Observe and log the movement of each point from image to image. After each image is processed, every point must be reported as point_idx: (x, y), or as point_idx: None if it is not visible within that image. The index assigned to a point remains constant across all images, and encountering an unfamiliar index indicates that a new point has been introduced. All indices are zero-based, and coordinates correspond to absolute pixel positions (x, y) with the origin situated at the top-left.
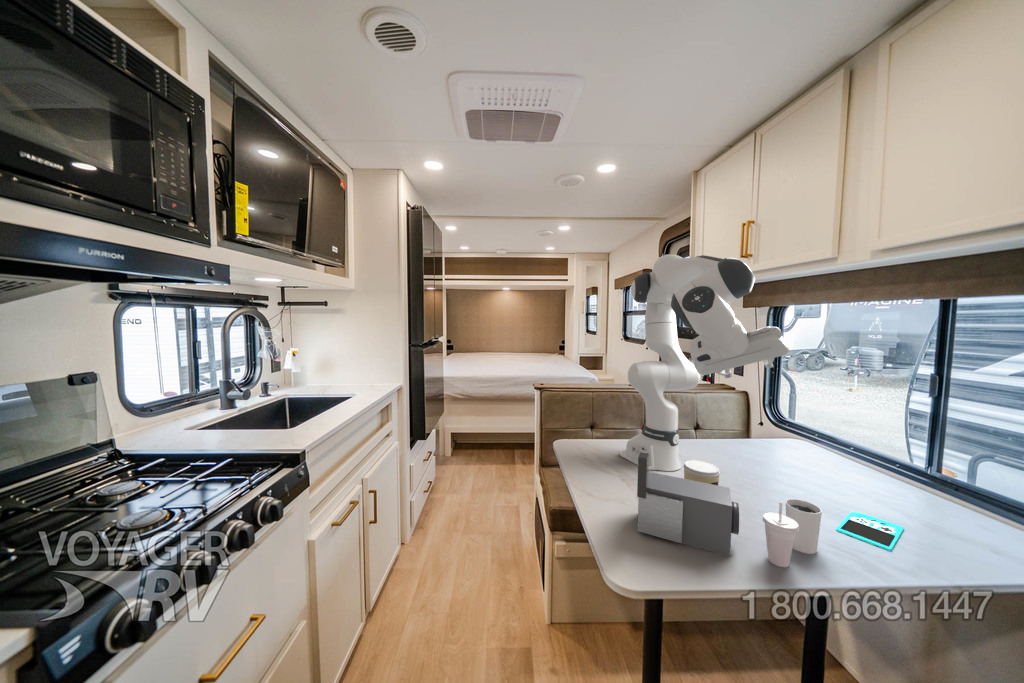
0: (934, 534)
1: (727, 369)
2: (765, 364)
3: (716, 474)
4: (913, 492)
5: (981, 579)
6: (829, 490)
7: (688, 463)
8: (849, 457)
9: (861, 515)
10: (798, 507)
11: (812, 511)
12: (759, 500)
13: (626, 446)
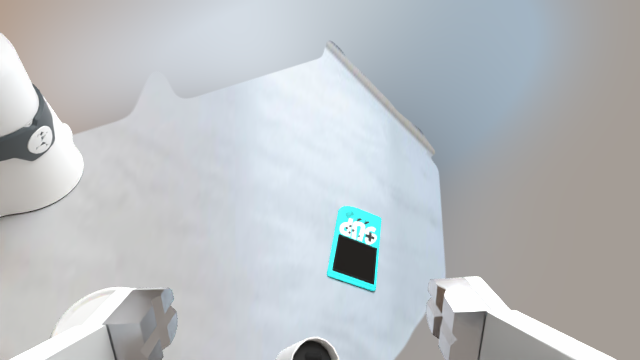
0: (399, 214)
1: (129, 328)
2: (456, 356)
3: None
4: (381, 119)
5: None
6: (317, 151)
7: None
8: (331, 48)
9: (348, 212)
10: (305, 352)
11: (323, 352)
12: (235, 239)
13: None
